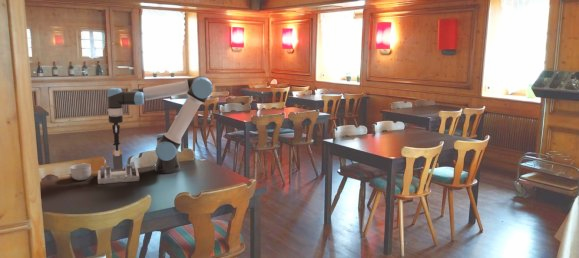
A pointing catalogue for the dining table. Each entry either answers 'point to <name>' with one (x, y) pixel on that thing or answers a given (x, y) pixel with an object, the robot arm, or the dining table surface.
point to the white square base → (131, 169)
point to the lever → (117, 163)
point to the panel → (117, 175)
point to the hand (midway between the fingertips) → (117, 155)
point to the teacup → (81, 171)
